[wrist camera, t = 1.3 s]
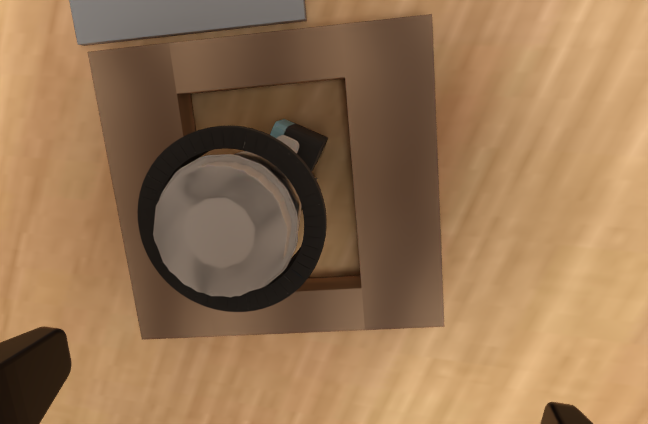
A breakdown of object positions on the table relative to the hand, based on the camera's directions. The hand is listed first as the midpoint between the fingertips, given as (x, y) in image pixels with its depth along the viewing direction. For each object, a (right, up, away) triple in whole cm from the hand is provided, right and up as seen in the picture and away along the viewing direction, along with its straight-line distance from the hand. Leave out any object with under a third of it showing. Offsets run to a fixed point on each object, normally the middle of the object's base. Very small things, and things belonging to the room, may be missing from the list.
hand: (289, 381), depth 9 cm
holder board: (-1, +4, +13) cm, 14 cm away
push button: (-1, +4, +14) cm, 14 cm away
